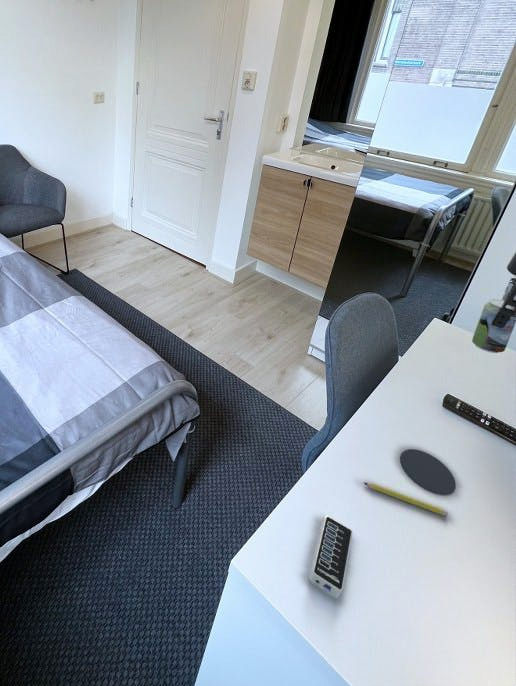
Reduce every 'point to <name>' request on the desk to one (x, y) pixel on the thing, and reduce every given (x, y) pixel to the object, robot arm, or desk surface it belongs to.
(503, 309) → the robot arm
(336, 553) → the multiport hub
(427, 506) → the pencil
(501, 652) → the desk surface
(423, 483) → the coaster
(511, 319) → the beverage can
